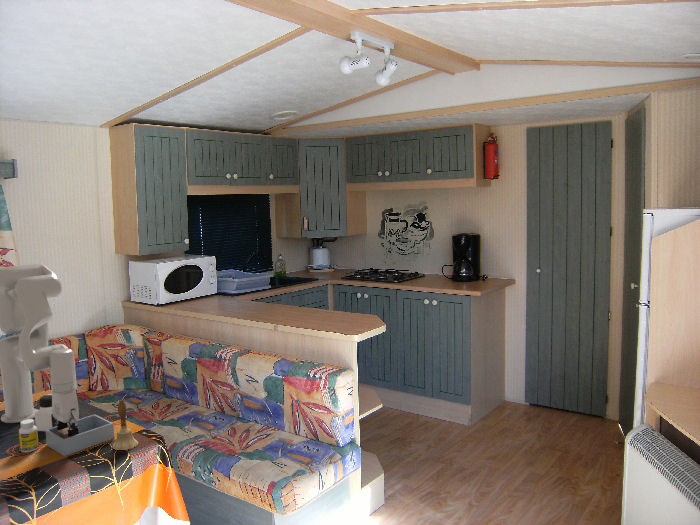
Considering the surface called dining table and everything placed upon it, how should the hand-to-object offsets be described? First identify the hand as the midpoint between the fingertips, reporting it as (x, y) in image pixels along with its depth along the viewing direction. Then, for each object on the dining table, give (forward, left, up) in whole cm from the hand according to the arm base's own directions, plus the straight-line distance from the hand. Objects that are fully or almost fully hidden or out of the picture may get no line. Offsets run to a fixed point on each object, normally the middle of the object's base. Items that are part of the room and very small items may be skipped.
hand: (68, 436), depth 200 cm
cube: (0, 0, -3) cm, 3 cm away
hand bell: (+15, +12, -4) cm, 20 cm away
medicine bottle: (-21, +3, -3) cm, 21 cm away
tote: (0, +4, -3) cm, 5 cm away
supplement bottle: (-8, -9, -3) cm, 13 cm away
